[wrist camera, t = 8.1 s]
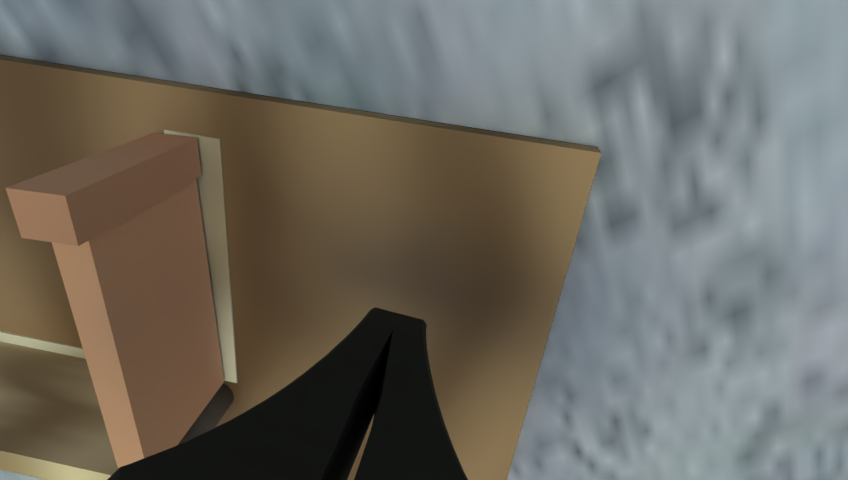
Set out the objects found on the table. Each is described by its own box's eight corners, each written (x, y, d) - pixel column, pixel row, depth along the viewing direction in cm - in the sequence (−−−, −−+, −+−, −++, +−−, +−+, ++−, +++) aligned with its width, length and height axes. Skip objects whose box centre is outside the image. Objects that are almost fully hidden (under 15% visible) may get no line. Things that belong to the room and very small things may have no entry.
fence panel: (229, 382, 19) (146, 497, 15) (195, 376, 19) (102, 489, 15) (196, 137, 15) (65, 196, 10) (153, 132, 15) (5, 187, 11)
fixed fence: (6, 362, 21) (-136, 464, 16) (-3, 335, 20) (-154, 434, 16) (234, 409, 20) (154, 531, 15) (232, 383, 19) (148, 502, 15)
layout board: (36, 436, 24) (24, 447, 23) (-95, 40, 16) (-120, 41, 15) (486, 535, 22) (486, 550, 22) (597, 147, 14) (601, 153, 13)
